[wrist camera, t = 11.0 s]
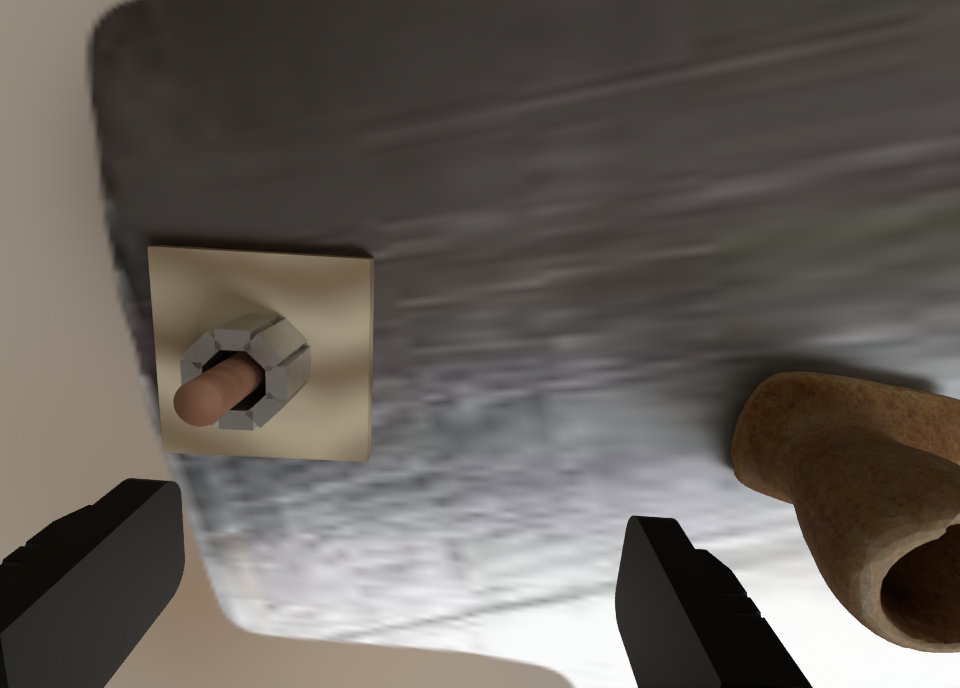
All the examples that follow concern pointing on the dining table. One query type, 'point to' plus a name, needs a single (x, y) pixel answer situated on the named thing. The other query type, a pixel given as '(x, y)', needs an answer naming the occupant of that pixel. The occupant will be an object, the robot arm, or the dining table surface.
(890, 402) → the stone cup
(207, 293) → the post stand
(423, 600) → the dining table surface
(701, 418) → the dining table surface
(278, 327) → the ring
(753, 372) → the dining table surface
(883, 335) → the dining table surface
